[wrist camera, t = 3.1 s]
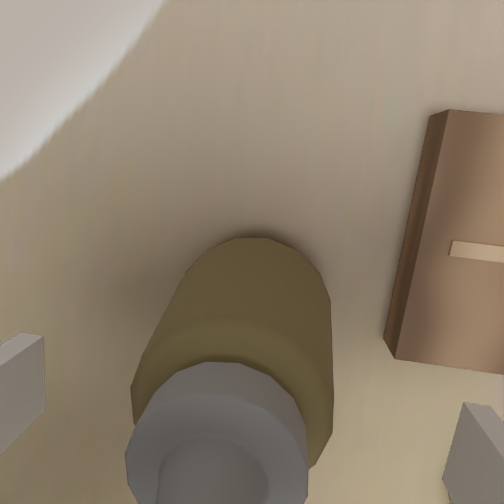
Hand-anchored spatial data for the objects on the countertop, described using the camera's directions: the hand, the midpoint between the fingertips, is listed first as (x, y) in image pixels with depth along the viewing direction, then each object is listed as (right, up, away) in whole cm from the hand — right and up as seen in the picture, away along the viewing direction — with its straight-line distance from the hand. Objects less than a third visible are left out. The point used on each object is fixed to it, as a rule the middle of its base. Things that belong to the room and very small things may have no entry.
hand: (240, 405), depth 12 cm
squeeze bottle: (+1, +2, +12) cm, 12 cm away
